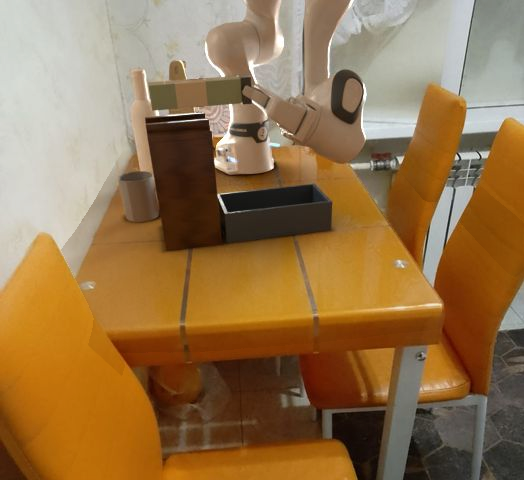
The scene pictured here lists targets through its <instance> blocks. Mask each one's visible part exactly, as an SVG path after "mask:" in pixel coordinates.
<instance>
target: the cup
mask: <svg viewBox="0 0 524 480" xmlns="http://www.w3.org/2000/svg"><path fill="white" fill-rule="evenodd" d="M117 180H118V186H119V190H120V194H121V200H122V206H123V208H124V214H125V218H126V220H127V221H130V222H133V223H143V222H150V221H152V220H155V219H157V218H158V217H160V210H159V204H158V198H157V192H156V189H155V185H154V179H153V174H152V173H150V172H146V171H140V170H136V171H128V172H126V173H122V174H120V175H119V176H118V178H117Z"/></svg>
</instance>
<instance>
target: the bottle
mask: <svg viewBox="0 0 524 480" xmlns="http://www.w3.org/2000/svg"><path fill="white" fill-rule="evenodd" d="M130 78H131V81H132V88H133V93H134V99H135V100H134V101H133V103H132V104H131V106H130V111H129V117H130V122H131V126H132V132H133V133H132V134H133V138H134V143H135V149H136V155H137V160H138V165H139V171H146V172H150V173H152V174H153V168H152V162H151V156H150V150H149V144H148V138H147V131H146V122H145V117H153V116H160V112H159V110H155V111H152V107H151V101H150V95H149V88H148V82H147V74H146V71H145V69H143V68H134V69H131V70H130ZM153 179H154V174H153ZM154 185H155V180H154ZM155 190H156V186H155Z"/></svg>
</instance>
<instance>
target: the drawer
mask: <svg viewBox="0 0 524 480" xmlns="http://www.w3.org/2000/svg"><path fill="white" fill-rule="evenodd" d="M244 85H247V86H249V87H251V77H250V76H249V75H247V74H237V76H227V77H222V76H216V77H215V76H214V77H204V78H203V77H202V78H199V79H186V80H173V81H169V80H161V81H148V82H147V89H148V95H149V99H150V101H151V107H152V111H155V110H158V111H165V110H167V111H168V110H169V109H180V108H192V107H204V106H209V107H212V106H214V107H215V106H216V107H217V106H227V105H230V104H240V103H242V104H243V105H244V104H252V100H251V99H250V98H248V97H246V96H245V95H243V94H242V89H243V87H244Z"/></svg>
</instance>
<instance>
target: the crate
mask: <svg viewBox="0 0 524 480" xmlns="http://www.w3.org/2000/svg"><path fill="white" fill-rule="evenodd" d="M217 195H218V205H219V216H220V227H221V232H222V234H223V237H224V238H225V241H226V243H227V244H230V243H239V242H246V241H254V240H263V239H271V238H279V237H280V238H281V237H286V236H287V237H288V236H295V235H303V234H311V233H320V232H328V231H329V232H330V231H332V220H333V200H331V198H330V197H328V195H327V194H325V192H324V191H323V190H322V189H321V188H320V187H319V186H318V185H317V184H316V183H315V182H313V183H305V184H296V185H286V186H279V187H278V186H277V187H270V188H268V187H267V188H259V189H249V190H240V191H232V192H222V193H221V192H220V193H217Z"/></svg>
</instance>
